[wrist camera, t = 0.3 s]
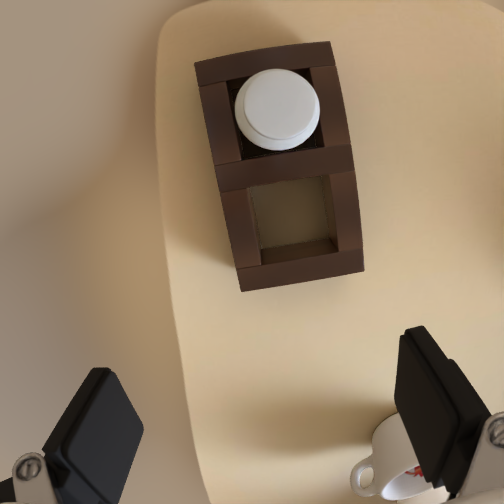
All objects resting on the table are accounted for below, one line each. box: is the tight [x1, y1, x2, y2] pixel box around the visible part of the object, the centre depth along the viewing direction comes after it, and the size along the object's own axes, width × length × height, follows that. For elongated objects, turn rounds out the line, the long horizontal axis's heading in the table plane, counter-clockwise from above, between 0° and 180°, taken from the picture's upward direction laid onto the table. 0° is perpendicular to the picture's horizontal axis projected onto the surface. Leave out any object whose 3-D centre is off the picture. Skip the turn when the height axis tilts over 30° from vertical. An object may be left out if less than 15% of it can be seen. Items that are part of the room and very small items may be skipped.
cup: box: [350, 413, 433, 500], centre depth 32 cm, size 14×10×10 cm
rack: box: [194, 41, 364, 292], centre depth 24 cm, size 18×10×4 cm, turn 11°
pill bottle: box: [235, 69, 320, 150], centre depth 21 cm, size 5×5×10 cm
